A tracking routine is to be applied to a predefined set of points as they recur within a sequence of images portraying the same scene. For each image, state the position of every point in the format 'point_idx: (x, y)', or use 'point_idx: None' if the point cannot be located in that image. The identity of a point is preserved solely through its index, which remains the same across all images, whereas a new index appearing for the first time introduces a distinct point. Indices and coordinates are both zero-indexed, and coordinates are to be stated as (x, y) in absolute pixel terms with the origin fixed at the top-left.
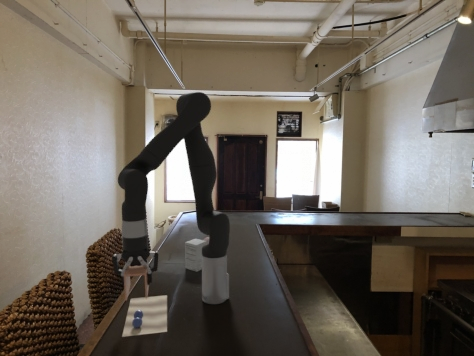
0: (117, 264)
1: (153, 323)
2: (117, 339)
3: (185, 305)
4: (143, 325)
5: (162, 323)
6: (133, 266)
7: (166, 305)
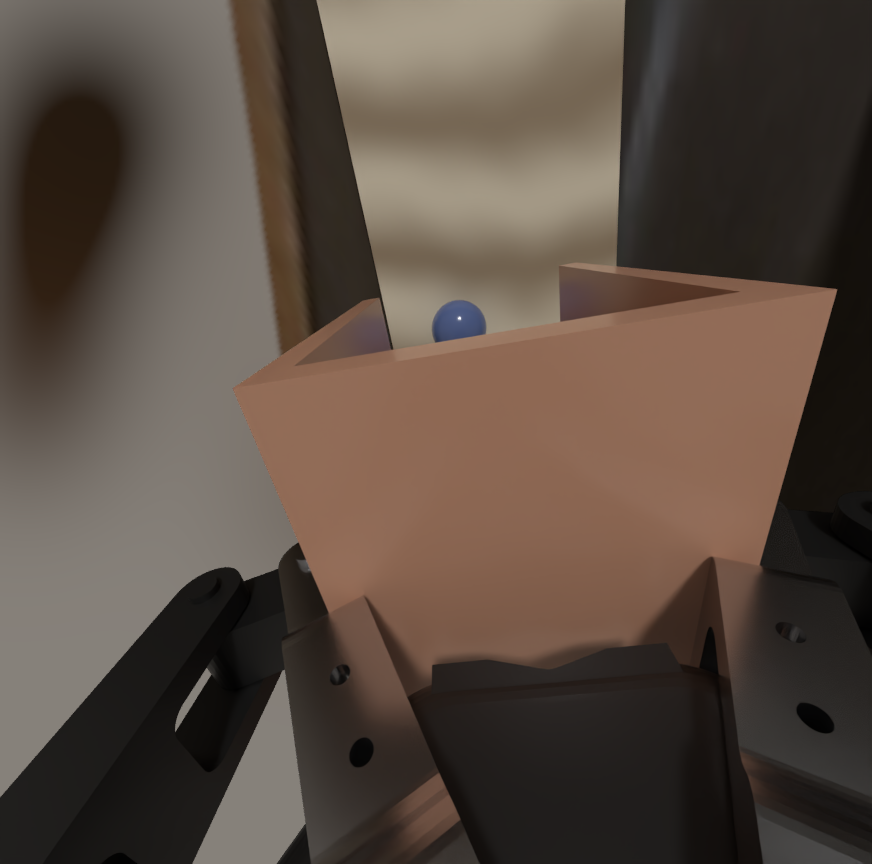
0: (189, 837)
1: None
2: None
3: (746, 97)
4: None
5: None
6: (467, 605)
7: (616, 136)
